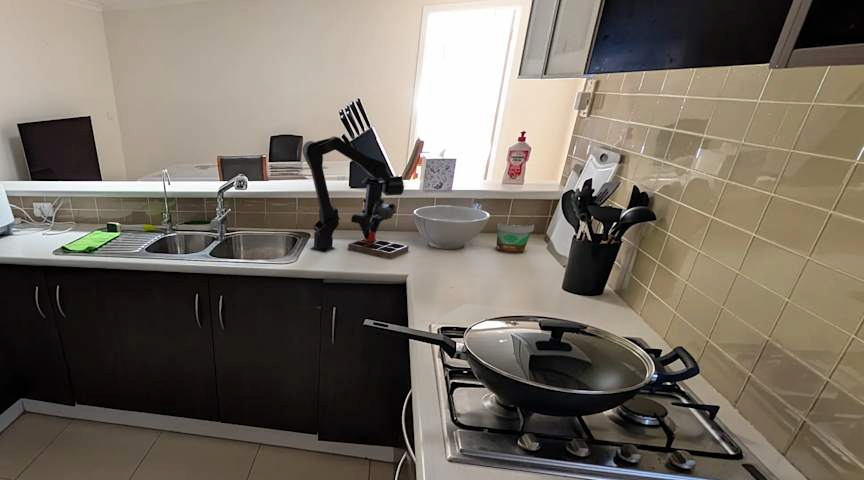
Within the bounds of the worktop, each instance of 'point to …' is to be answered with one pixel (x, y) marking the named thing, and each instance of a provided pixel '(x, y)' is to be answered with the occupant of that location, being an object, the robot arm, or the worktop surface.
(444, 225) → the decorative bowl
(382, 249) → the grid
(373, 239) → the red short cylinder
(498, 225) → the food container
